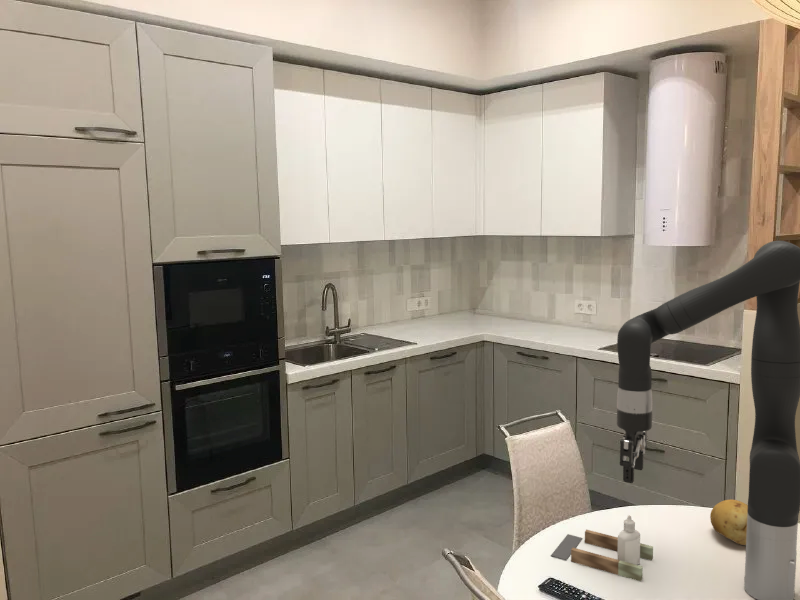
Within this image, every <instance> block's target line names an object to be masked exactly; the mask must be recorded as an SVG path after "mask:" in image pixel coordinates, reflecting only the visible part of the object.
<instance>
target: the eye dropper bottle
mask: <svg viewBox="0 0 800 600" xmlns="http://www.w3.org/2000/svg"><path fill="white" fill-rule="evenodd" d="M635 527H636V522H635V521H634V519H632V515H629V514H628V515H627V518H626V519H623V529H622V530H621V531H620V532H619V533H618V534H617V535H618V536H617V537H618V551H617V557H616V559H617V560H621V561H624V562H628V563H632V564H635V565H640V563H641V558H640V543H641V533H640V532H639V531H638V530H637V529H636V528H635Z"/></svg>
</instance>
